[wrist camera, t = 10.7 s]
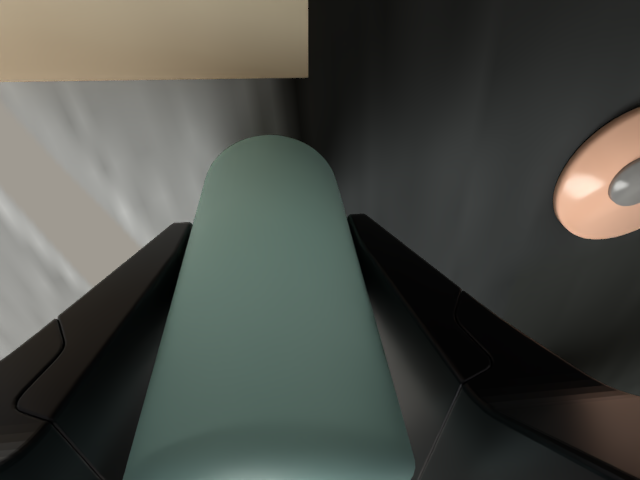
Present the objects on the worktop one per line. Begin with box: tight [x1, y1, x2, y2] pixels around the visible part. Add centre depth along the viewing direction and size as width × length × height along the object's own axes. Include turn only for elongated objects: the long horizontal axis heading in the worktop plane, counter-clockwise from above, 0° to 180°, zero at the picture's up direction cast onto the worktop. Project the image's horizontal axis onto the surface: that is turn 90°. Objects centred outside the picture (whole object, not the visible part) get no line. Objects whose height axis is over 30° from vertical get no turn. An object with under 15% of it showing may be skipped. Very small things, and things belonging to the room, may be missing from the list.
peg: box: [123, 135, 415, 480], centre depth 7 cm, size 4×4×7 cm
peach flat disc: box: [553, 107, 640, 239], centre depth 13 cm, size 5×5×1 cm
